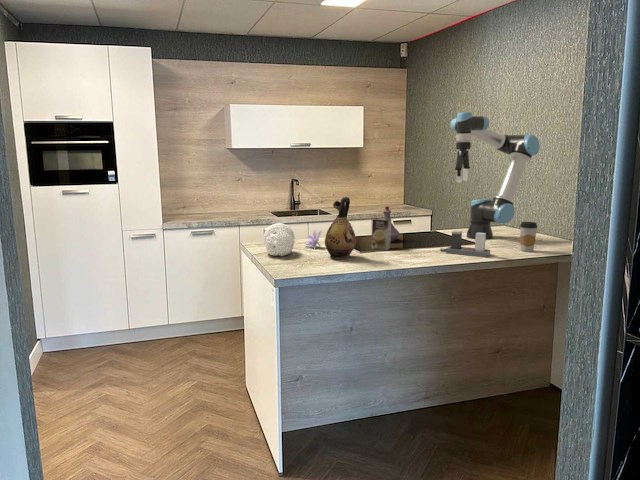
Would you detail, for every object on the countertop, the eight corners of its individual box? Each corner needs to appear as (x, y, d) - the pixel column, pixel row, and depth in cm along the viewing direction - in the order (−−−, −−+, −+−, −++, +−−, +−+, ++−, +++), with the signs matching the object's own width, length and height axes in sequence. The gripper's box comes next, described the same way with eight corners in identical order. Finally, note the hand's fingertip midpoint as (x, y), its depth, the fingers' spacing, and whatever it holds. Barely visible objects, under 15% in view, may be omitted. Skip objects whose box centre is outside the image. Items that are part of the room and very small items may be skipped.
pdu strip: (443, 250, 267) (443, 243, 266) (490, 255, 255) (490, 248, 254) (437, 253, 260) (438, 246, 259) (485, 258, 247) (486, 251, 247)
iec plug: (476, 253, 256) (477, 232, 254) (484, 254, 254) (485, 233, 252) (474, 255, 252) (475, 233, 250) (482, 256, 250) (483, 234, 248)
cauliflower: (256, 235, 267) (273, 212, 260) (284, 247, 274) (301, 226, 267) (258, 258, 251) (275, 234, 244) (287, 271, 258) (305, 248, 251)
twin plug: (453, 251, 262) (454, 230, 260) (460, 252, 260) (461, 231, 258) (450, 252, 258) (451, 231, 256) (458, 253, 256) (459, 232, 254)
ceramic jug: (346, 262, 242) (346, 199, 236) (319, 258, 250) (318, 197, 244) (362, 255, 256) (363, 196, 250) (336, 252, 264) (336, 195, 258)
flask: (405, 242, 291) (406, 207, 287) (378, 243, 287) (378, 208, 283) (394, 237, 306) (394, 204, 303) (368, 238, 302) (368, 205, 299)
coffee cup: (534, 250, 268) (536, 222, 265) (536, 253, 260) (538, 224, 257) (518, 249, 270) (519, 221, 268) (518, 252, 263) (520, 223, 260)
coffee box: (370, 248, 273) (371, 219, 270) (374, 246, 278) (375, 217, 276) (387, 250, 269) (387, 220, 266) (390, 248, 275) (391, 218, 272)
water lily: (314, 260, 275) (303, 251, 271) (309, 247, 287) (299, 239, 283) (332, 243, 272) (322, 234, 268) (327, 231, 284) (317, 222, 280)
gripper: (462, 141, 284) (461, 179, 288) (450, 142, 263) (449, 183, 267) (475, 141, 280) (474, 179, 284) (464, 141, 259) (463, 183, 263)
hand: (462, 181), depth 276 cm, fingers open, 13 cm apart
